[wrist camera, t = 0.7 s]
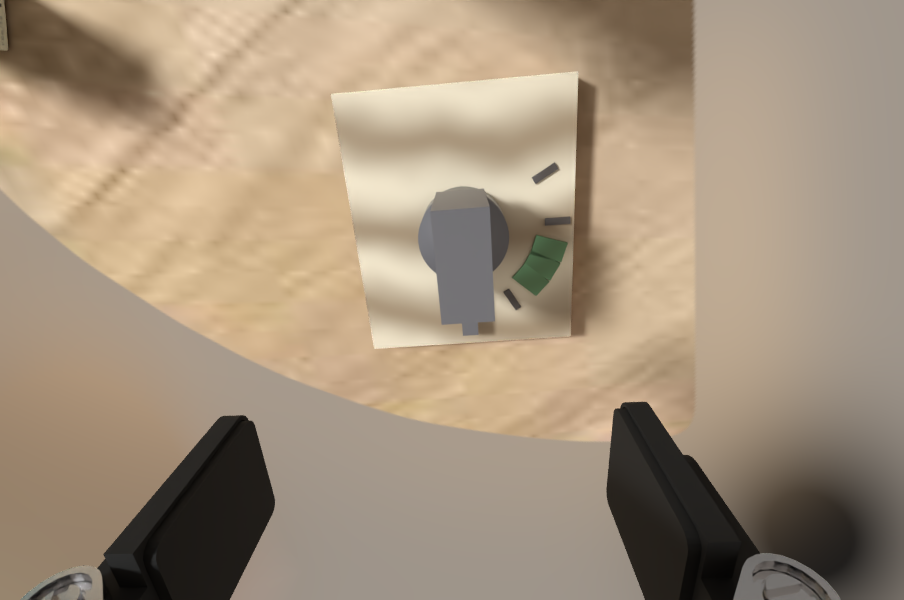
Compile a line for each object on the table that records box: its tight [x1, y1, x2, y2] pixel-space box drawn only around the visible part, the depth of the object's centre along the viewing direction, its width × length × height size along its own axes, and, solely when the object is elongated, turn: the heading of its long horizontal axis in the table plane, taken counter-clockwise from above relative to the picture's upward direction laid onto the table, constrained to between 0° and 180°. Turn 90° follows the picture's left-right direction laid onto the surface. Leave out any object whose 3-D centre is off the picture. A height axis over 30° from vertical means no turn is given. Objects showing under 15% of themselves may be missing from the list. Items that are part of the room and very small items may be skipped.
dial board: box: [331, 71, 578, 349], centre depth 33 cm, size 19×16×2 cm
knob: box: [418, 186, 509, 336], centre depth 28 cm, size 11×6×9 cm, turn 5°
